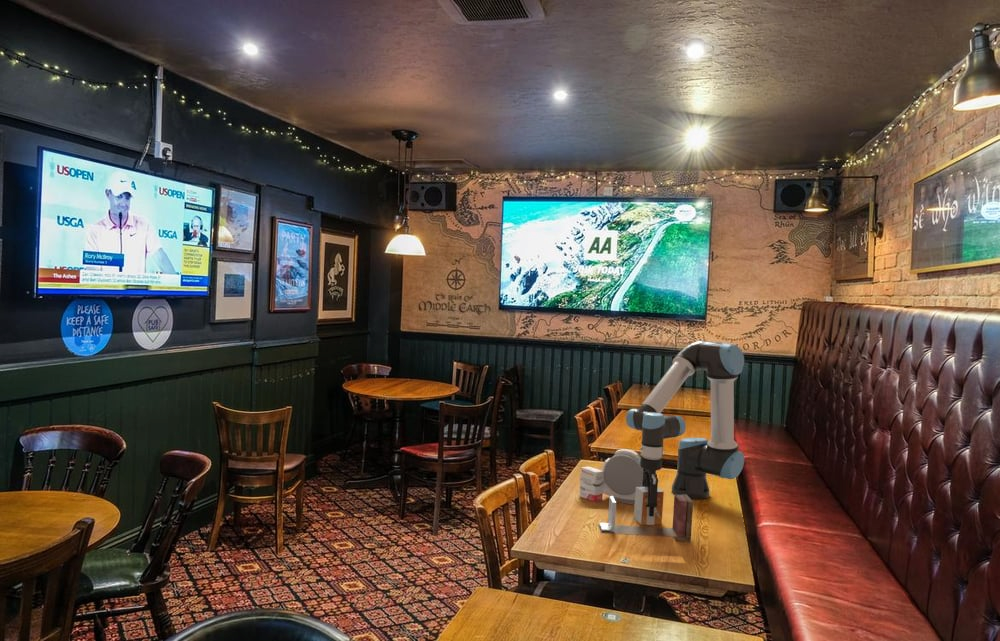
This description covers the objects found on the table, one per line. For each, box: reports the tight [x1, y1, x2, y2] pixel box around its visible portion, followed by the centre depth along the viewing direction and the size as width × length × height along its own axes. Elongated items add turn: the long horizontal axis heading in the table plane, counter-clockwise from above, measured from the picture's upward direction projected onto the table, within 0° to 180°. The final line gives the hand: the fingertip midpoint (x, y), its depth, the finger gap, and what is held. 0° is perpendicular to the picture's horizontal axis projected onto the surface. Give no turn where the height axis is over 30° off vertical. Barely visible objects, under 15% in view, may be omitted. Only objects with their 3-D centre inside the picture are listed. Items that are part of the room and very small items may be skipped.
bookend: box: [599, 496, 617, 532], centre depth 221 cm, size 4×7×10 cm, turn 179°
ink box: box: [579, 466, 604, 503], centre depth 258 cm, size 8×5×12 cm, turn 39°
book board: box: [597, 494, 694, 543], centre depth 221 cm, size 30×8×14 cm, turn 89°
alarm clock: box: [601, 448, 643, 506], centre depth 257 cm, size 18×8×20 cm, turn 65°
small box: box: [633, 487, 665, 526], centre depth 231 cm, size 8×6×13 cm
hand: (647, 520), depth 231 cm, fingers closed on small box, 7 cm apart
